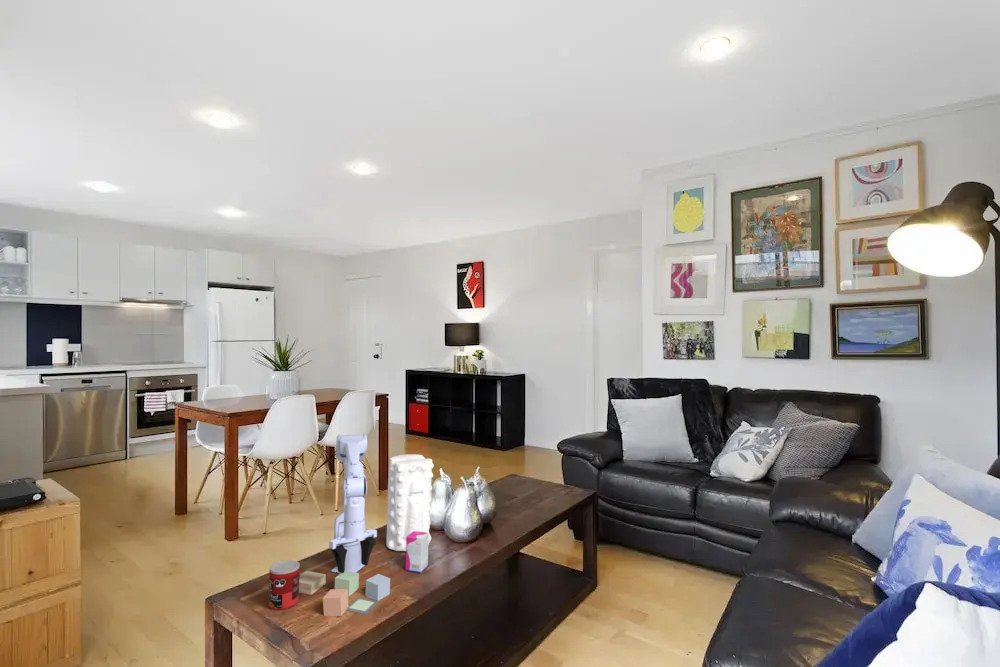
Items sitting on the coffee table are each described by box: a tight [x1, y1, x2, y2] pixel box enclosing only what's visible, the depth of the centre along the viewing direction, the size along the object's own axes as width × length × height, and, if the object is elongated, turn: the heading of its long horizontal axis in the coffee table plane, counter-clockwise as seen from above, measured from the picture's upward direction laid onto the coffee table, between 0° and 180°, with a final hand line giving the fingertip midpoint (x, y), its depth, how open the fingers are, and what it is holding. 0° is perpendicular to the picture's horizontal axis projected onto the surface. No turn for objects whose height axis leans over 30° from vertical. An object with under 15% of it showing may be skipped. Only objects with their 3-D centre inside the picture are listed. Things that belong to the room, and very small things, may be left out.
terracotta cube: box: [322, 588, 350, 617], centre depth 141 cm, size 5×5×5 cm
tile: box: [345, 597, 380, 616], centre depth 144 cm, size 7×7×1 cm
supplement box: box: [405, 531, 430, 574], centre depth 169 cm, size 6×6×12 cm
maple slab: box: [299, 570, 327, 595], centre depth 154 cm, size 7×7×4 cm
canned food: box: [268, 559, 301, 611], centre depth 145 cm, size 8×8×11 cm
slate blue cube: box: [365, 573, 391, 602], centre depth 151 cm, size 5×5×5 cm
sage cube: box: [334, 571, 360, 597], centre depth 153 cm, size 5×5×5 cm
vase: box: [385, 453, 435, 552], centre depth 189 cm, size 17×16×32 cm
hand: (353, 568), depth 145 cm, fingers open, 7 cm apart
